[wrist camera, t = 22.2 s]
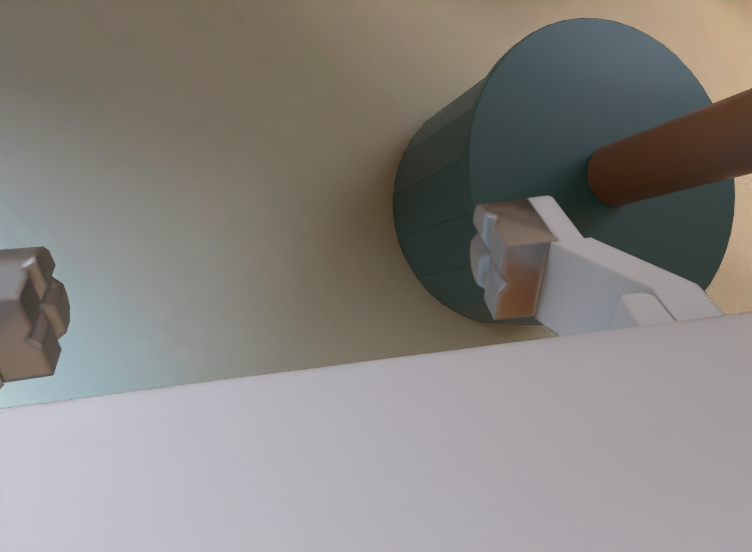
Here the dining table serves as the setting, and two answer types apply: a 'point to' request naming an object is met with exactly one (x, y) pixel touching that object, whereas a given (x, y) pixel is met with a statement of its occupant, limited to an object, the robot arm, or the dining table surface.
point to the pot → (441, 213)
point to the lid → (612, 143)
